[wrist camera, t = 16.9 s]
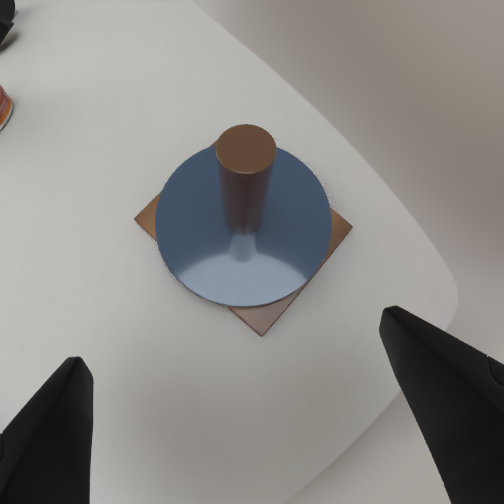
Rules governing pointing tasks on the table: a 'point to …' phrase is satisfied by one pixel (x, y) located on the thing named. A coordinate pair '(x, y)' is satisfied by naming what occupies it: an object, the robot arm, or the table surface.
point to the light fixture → (6, 17)
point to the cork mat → (267, 314)
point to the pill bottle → (4, 107)
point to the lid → (243, 221)
